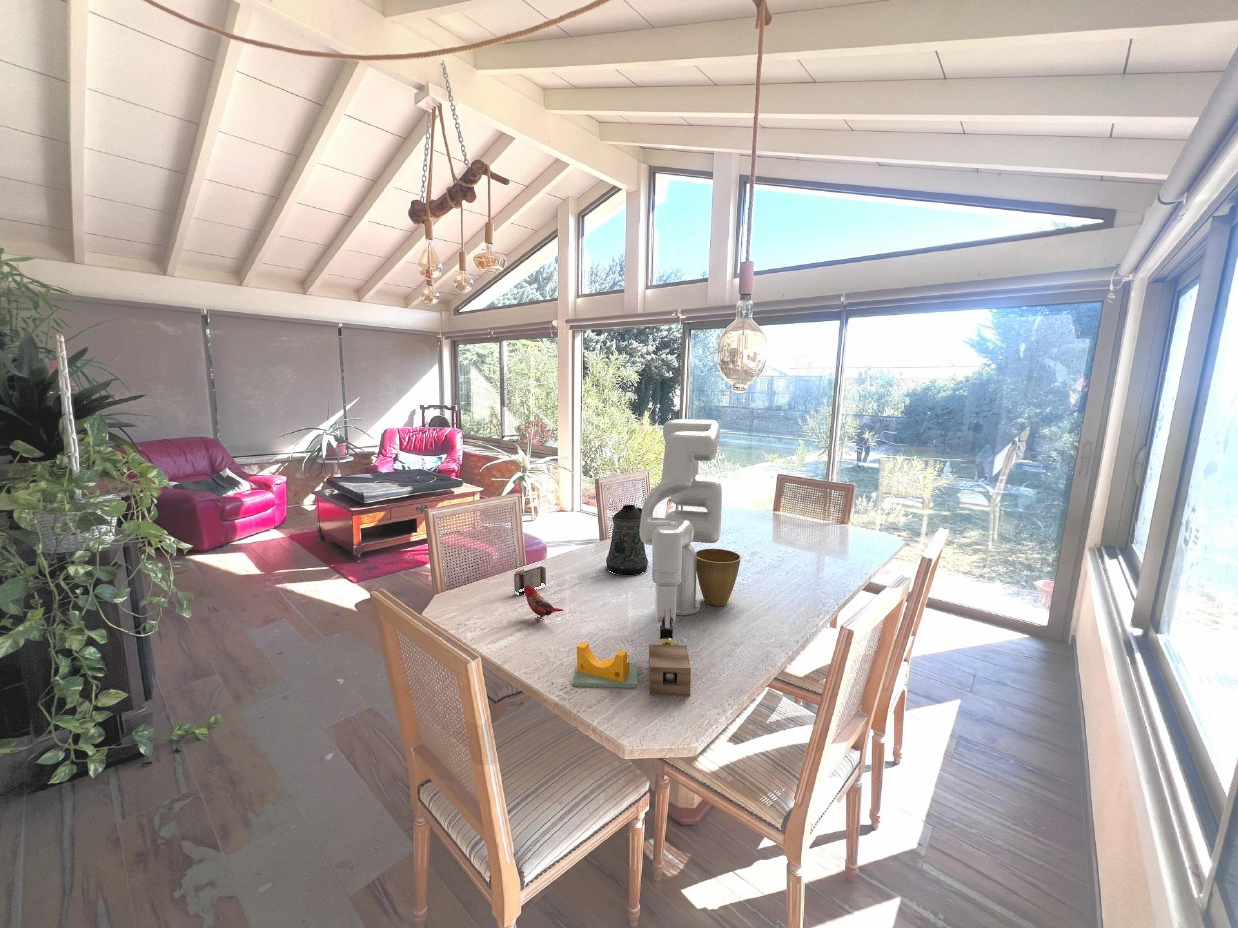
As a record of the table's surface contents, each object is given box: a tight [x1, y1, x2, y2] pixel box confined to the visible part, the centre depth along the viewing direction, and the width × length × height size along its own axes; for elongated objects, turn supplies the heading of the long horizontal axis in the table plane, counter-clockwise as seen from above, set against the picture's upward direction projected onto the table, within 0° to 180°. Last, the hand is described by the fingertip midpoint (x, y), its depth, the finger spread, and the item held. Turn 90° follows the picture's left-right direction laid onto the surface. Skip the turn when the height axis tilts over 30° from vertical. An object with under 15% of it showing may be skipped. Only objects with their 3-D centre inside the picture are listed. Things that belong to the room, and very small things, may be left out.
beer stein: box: [605, 504, 649, 576], centre depth 192 cm, size 16×19×25 cm
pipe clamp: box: [576, 641, 631, 682], centre depth 118 cm, size 12×4×6 cm, turn 68°
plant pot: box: [695, 548, 742, 607], centre depth 161 cm, size 15×15×16 cm
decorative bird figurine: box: [524, 584, 565, 621], centre depth 147 cm, size 3×18×10 cm, turn 51°
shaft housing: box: [648, 644, 692, 697], centre depth 116 cm, size 10×9×7 cm
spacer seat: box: [572, 662, 638, 689], centre depth 119 cm, size 9×15×1 cm, turn 87°
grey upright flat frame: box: [513, 565, 547, 594], centre depth 170 cm, size 11×3×10 cm, turn 134°
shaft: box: [658, 637, 676, 683], centre depth 119 cm, size 15×4×4 cm, turn 177°
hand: (666, 641), depth 128 cm, fingers closed
